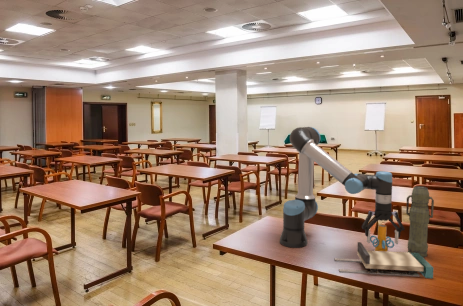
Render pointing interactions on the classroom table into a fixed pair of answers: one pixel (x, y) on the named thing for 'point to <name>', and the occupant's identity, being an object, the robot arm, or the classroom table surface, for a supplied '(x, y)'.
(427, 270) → the track
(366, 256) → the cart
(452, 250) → the classroom table surface
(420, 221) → the thermos
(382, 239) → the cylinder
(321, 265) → the classroom table surface
